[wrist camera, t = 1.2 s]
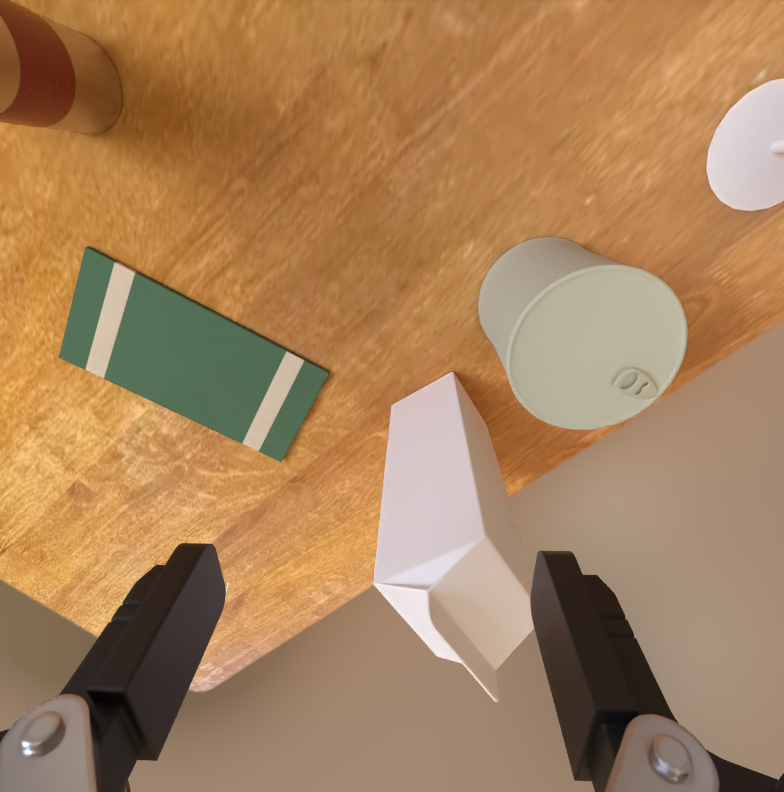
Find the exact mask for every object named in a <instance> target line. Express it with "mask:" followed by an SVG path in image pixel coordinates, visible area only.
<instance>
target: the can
mask: <svg viewBox="0 0 784 792" xmlns="http://www.w3.org/2000/svg"><path fill="white" fill-rule="evenodd" d="M478 312H479V319H480V323H481V326H482V328H483V330H484V332H485V334H486V336H487V337H488V339H489V340H490V341H491V342H492V344H493V345H494V347H495V349H496V352H497V354H498V356H499V358H500V360H501V362H502V364H503V366H504V369H505V371H506V373H507V376H508V380H509V383H510V386H511V388H512V390H513V393H514V394H515V396H516V398H517V399H518V401H519V402H520V403H521V404H522V405H523V407H524V408H525V409H526V410H527V411H529V412H530V413H531V414H532V415H534V416H535V417H536V418H538V419H540V420H542V421H543V422H545V423H548V424H550V425H553V426H556V427H560V428H564V429H570V430H593V429H600V428H605V427H609V426H612V425H615V424H618V423H621V422H623V421H625V420H628V419H630V418H631V417H633V416H635V415H637V414H639V413H640V412H642V411H643V410H644V409H646V408H647V407H649V406H650V405H651V404H652V403H654V402H655V401H656V400H657V399H658V398H659V397H660V396H661V395H662V394H663V393H664V391H665V390H666V389H667V388H668V387H669V385H670V384H671V382H672V381H673V379H674V378H675V376H676V374H677V373H678V371H679V369H680V366H681V364H682V362H683V359H684V355H685V351H686V347H687V339H688V329H687V321H686V316H685V312H684V310H683V307H682V305H681V303H680V301H679V299H678V297H677V296H676V294H675V293H674V292H673V290H672V289H671V288H670V287H669V286H668V285H667V284H666V283H665V282H664V281H662V280H661V279H660V278H658V277H657V276H655V275H653V274H651V273H649V272H647V271H645V270H643V269H640V268H637V267H633V266H629V265H624V264H621V263H618V262H616V261H613V260H610V259H607V258H605V257H602V256H600V255H597V254H595V253H592V252H590V251H587V250H586V249H585V248H583V247H582V246H580V245H579V244H577V243H575V242H573V241H570V240H567V239H563V238H558V237H541V238H535V239H532V240H528V241H525V242H523V243H520V244H518V245H517V246H515V247H513V248H511V249H510V250H508V251H507V252H506V253H505V254H503V255H502V256H501V257H500V258H499V259H498V260H497V261H496V262H495V263H494V265H493V266H492V267H491V269H490V270H489V272H488V273H487V275H486V277H485V279H484V281H483V284H482V286H481V290H480V294H479V300H478Z"/></svg>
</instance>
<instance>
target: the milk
mask: <svg viewBox="0 0 784 792" xmlns="http://www.w3.org/2000/svg"><path fill="white" fill-rule="evenodd" d="M532 583H533V579H532V575H531V572H530V568H529V565H528V562H527V558H526V555H525V552H524V548H523V545H522V542H521V538H520V535H519V531H518V528H517V525H516V522H515V518H514V515H513V511H512V508H511V504H510V501H509V498H508V494H507V491H506V488H505V484H504V481H503V477H502V474H501V471H500V467H499V464H498V461H497V457H496V454H495V451H494V447H493V444H492V440H491V437H490V434H489V430H488V427H487V425H486V423H485V421H484V420H483V418H482V417H481V415H480V413H479V412H478V410H477V409H476V407H475V405H474V404H473V402H472V401H471V399H470V397H469V396H468V394H467V393H466V391H465V389H464V388H463V386H462V385H461V383H460V381H459V380H458V378H457V377H456V375H455V373H454V372H453V371H452V372H450V373H448V374H446V375H445V376H443V377H441V378H439V379H437V380H436V381H434V382H432V383H430V384H428V385H427V386H425V387H423V388H421V389H419V390H418V391H416V392H414V393H412V394H410V395H409V396H407V397H405V398H403V399H401V400H400V401H398V402H396V403H394V404H393V405H392V407H391V416H390V426H389V436H388V445H387V455H386V465H385V474H384V484H383V494H382V503H381V513H380V523H379V532H378V542H377V552H376V561H375V571H374V581H373V584H374V585H375V587H376V588H377V589H378V590H379V591H380V592H381V593H382V595H383V596H384V597H385V598H386V599H387V600H388V601H389V603H390V604H391V605H392V606H393V607H394V608H395V609H396V611H397V612H398V613H399V614H400V615H401V616H402V617H403V618H404V620H405V621H406V622H407V623H408V624H409V625H410V626H411V628H412V629H413V630H414V631H415V632H416V633H417V634H418V635H419V636H420V638H421V639H422V640H423V641H424V642H425V643H426V644H427V646H428V647H429V648H430V649H431V650H432V651H433V652H434V654H435V655H436V656H438V657H440V658H444V659H448V660H452V661H455V662H459V663H462V664H463V665H464V666H465V667H466V669H467V670H468V671H469V672H470V673H471V674H472V676H473V677H474V678H475V679H476V680H477V681H478V683H479V684H480V685H481V686H482V687H483V688H484V690H485V691H486V692H487V693H488V694H489V695H490V696H491V698H492V699H493V700H494V701H495V702H498V701H499V693H498V687H497V681H496V673H495V671H496V669H497V668H498V667H499V666H500V665H501V664H502V663H503V662H504V660H505V659H506V658H507V657H508V656H509V655H510V654H511V653H512V651H514V650H515V648H516V647H517V646H518V645H519V644H520V643H521V642H522V641H523V640H524V639H525V637H526V636H527V635H528V634H529V633H530V632H531V631H532V630H533V628H534V625H533V621H532V615H531V606H530V596H531V589H532Z"/></svg>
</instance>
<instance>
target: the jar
mask: <svg viewBox="0 0 784 792" xmlns="http://www.w3.org/2000/svg"><path fill="white" fill-rule="evenodd" d="M121 105H122V89H121V83H120V79H119V76H118V73H117V71H116V69H115V66H114V65H113V63H112V61H111V59H110V58H109V57H108V55H107V54H106V52H105V51H104V50H103V49H102V48H101V47H100V46H99V45H98V44H97V43H96V42H95V41H93V40H92V39H91V38H89V37H87V36H86V35H84V34H82V33H79V32H77V31H75V30H73V29H70V28H68V27H66V26H64V25H61V24H59V23H57V22H55V21H53V20H50V19H48V18H46V17H44V16H41V15H39V14H37V13H35V12H33V11H31V10H29V9H27V8H25V7H23V6H20V5H18V4H16V3H14V2H12V1H9V0H0V122H4V123H11V124H18V125H25V126H32V127H42V128H49V129H56V130H63V131H70V132H76V133H83V134H97V133H101V132H103V131H105V130H107V129H108V128H109V127H111V126H112V125H113V123H114V122H115V121H116V119H117V118H118V115H119V113H120V110H121Z"/></svg>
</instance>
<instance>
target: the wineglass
mask: <svg viewBox="0 0 784 792" xmlns="http://www.w3.org/2000/svg"><path fill="white" fill-rule="evenodd" d="M706 171H707V175H708V179H709V184H710V188H711V189H712V190H713V192H714V193H715V195H716V196H717V197H718V199H719V200H720V201H721V202H723V203H725V204H726V205H728V206H730V207H731V208H733V209H738V210H745V211H755V210H761V209H766V208H770V207H772V206H775V205H777V204H779V203H781V202H783V201H784V78H782V79H777V80H772V81H768V82H766V83H765V84H763V85H761V86H759V87H757V88H755V89H753V90H752V91H750V92H748V93H747V94H746V95H745V96H743V97H742V98H741V99H740V100H739V101H738V102H737V103H736V104H735V105H734V106H733V107H731V108H730V109H729V111H728V112H727V114H726V115H725V117H724V118H723V120H722V121H721V123H720V124H719V125H718V127H717V128H716V131H715V133H714V136H713V139H712V141H711V144H710V146H709V149H708V157H707V167H706Z"/></svg>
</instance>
